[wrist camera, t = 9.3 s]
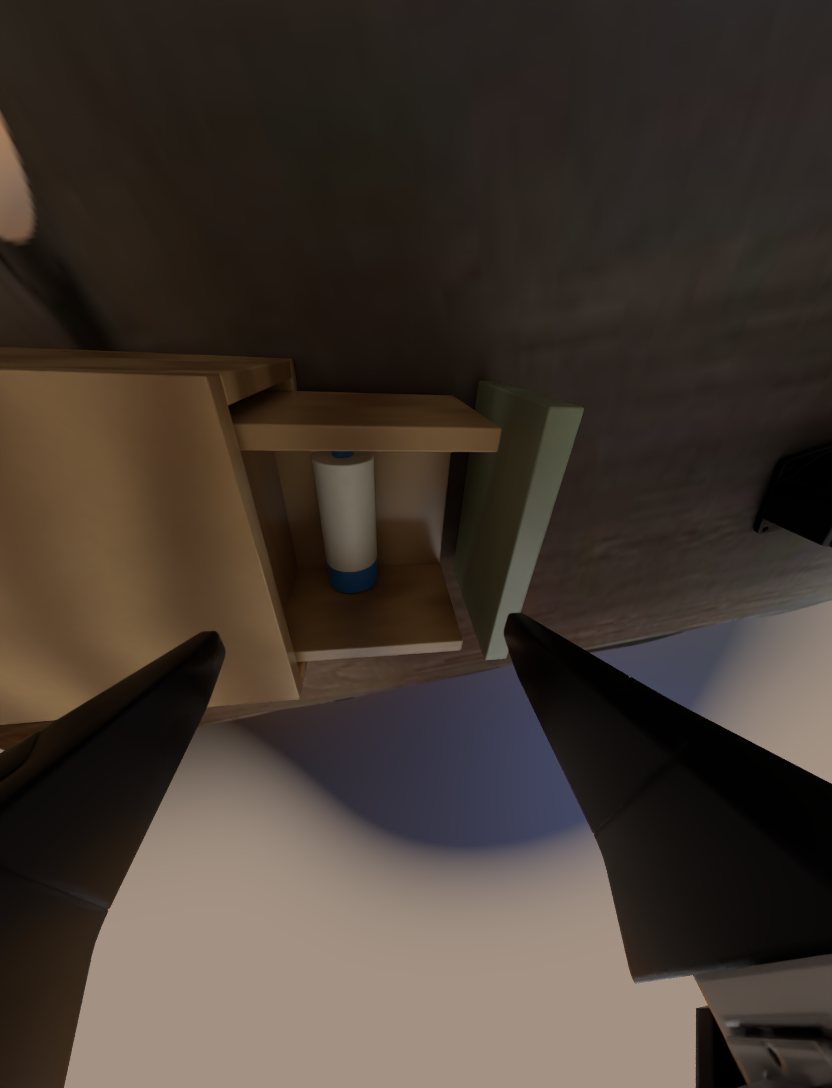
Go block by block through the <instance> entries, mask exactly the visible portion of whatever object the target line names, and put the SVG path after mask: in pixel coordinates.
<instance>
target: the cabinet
mask: <svg viewBox="0 0 832 1088" xmlns="http://www.w3.org/2000/svg"><path fill="white" fill-rule="evenodd" d="M262 390H279V391H298V389H297V382H296V375H295V369H294V362H293V359H291V358H268V357H244V356H219V355H195V354H171V353H146V352H122V351H98V350H74V349H49V348H25V347H1V346H0V725H2V724H14V723H25V722H37V721H49V720H57V719H59V718H60V717H62V716H64V715H65V714H67V713H69V712H70V711H72V710H74V709H75V708H77V707H78V706H80V705H82V704H83V703H85V702H87V701H88V700H90V699H92V698H93V697H95V696H96V695H98V694H100V693H101V692H103V691H105V690H106V689H108V688H110V687H111V686H113V685H115V684H116V683H118V682H119V681H121V680H123V679H124V678H126V677H128V676H129V675H131V674H133V673H134V672H136V671H137V670H139V669H141V668H142V667H144V666H146V665H147V664H149V663H151V662H152V661H154V660H156V659H157V658H159V657H160V656H162V655H164V654H165V653H167V652H169V651H170V650H172V649H174V648H175V647H177V646H178V645H180V644H182V643H183V642H185V641H187V640H188V639H190V638H192V637H193V636H195V635H197V634H198V633H200V632H202V631H217V632H218V633H219V635H220V637H221V640H222V642H223V644H224V646H225V649H226V656H225V659H224V662H223V665H222V668H221V671H220V674H219V676H218V679H217V682H216V685H215V688H214V691H213V693H212V696H211V699H210V701H209V704H208V706H207V707H213V706H225V705H237V704H248V703H260V702H272V701H284V700H295V699H300V695H301V690H302V686H303V684H302V683H303V679H304V675H305V670H306V665H307V661H304V662H297V661H296V657H295V654H294V650H293V646H292V643H291V639H290V635H289V631H288V628H287V624H286V620H285V616H284V613H283V609H282V605H281V602H280V598H279V594H278V590H277V587H276V583H275V579H274V575H273V572H272V568H271V564H270V561H269V557H268V553H267V549H266V546H265V542H264V538H263V534H262V531H261V527H260V523H259V519H258V516H257V512H256V508H255V505H254V501H253V497H252V493H251V490H250V486H249V482H248V478H247V475H246V471H245V467H244V464H243V460H242V456H241V452H240V449H239V445H238V441H237V437H236V434H235V430H234V426H233V423H232V419H231V415H230V411H229V408H228V405H230V404H233V403H235V402H237V401H239V400H242V399H244V398H246V397H249V396H251V395H253V394H255V393H258V392H260V391H262Z"/></svg>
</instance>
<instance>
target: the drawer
mask: <svg viewBox="0 0 832 1088" xmlns="http://www.w3.org/2000/svg"><path fill="white" fill-rule="evenodd" d="M228 408H229V411H230V415H231V419H232V423H233V426H234V430H235V434H236V437H237V441H238V445H239V449H240V452H241V456H242V460H243V464H244V467H245V471H246V475H247V478H248V482H249V486H250V490H251V493H252V497H253V501H254V505H255V508H256V512H257V516H258V519H259V523H260V527H261V531H262V534H263V538H264V542H265V546H266V549H267V553H268V557H269V561H270V564H271V568H272V572H273V575H274V579H275V583H276V587H277V590H278V594H279V598H280V602H281V605H282V609H283V613H284V616H285V620H286V624H287V628H288V631H289V635H290V639H291V643H292V646H293V650H294V654H295V657H296V661H297V662H304V661H318V660H332V659H346V658H360V657H374V656H388V655H402V654H416V653H430V652H444V651H458V650H461V647H462V642H463V640H462V636H461V633H460V630H459V626H458V623H457V620H456V616H455V613H454V610H453V606H452V603H451V600H450V596H449V593H448V590H447V586H446V583H445V580H444V576H443V573H442V570H441V566H440V555H441V545H442V536H443V526H444V516H445V506H446V497H447V487H448V477H449V467H450V458H451V452H469V457H468V465H467V472H466V479H465V487H464V494H463V502H462V509H461V517H460V524H459V531H458V539H457V546H456V554H455V561H454V569H453V570H454V573H455V576H456V579H457V582H458V585H459V587H460V590H461V593H462V596H463V599H464V602H465V604H466V607H467V610H468V613H469V616H470V619H471V621H472V624H473V627H474V630H475V633H476V636H477V639H478V641H479V644H480V647H481V650H482V653H483V656H484V658H485V660H495V659H506V657H507V654H508V651H509V650H508V647H507V644H506V642H505V639H504V627H505V624H506V620H507V617H508V614H510V613H519V612H520V613H521V609H522V606H523V603H524V600H525V597H526V593H527V590H528V587H529V584H530V581H531V577H532V574H533V571H534V568H535V565H536V561H537V558H538V555H539V552H540V549H541V545H542V542H543V539H544V536H545V533H546V529H547V526H548V523H549V520H550V517H551V514H552V510H553V507H554V504H555V501H556V498H557V494H558V491H559V488H560V485H561V482H562V478H563V475H564V472H565V469H566V466H567V462H568V459H569V456H570V453H571V450H572V446H573V443H574V440H575V437H576V434H577V430H578V427H579V424H580V421H581V418H582V414H583V411H584V408H583V407H580V406H577V405H574V404H571V403H568V402H564V401H561V400H558V399H555V398H552V397H548V396H545V395H542V394H539V393H535V392H532V391H529V390H526V389H523V388H519V387H516V386H513V385H510V384H507V383H503V382H500V381H479V383H478V390H477V398H476V405H475V410H473V409H472V408H470V407H469V406H467V405H466V404H464V403H463V402H462V401H460V400H459V399H457V398H455V397H454V396H450V395H416V394H381V393H347V392H313V391H279V390H262V391H260V392H258V393H255V394H253V395H251V396H249V397H246V398H244V399H242V400H239V401H237V402H235V403H233V404H230V405H228ZM317 451H370V452H371V453H372V454H373V456H374V482H375V511H376V540H377V569H378V578H377V581H376V582H375V584H374V585H373V586H372V587H370V588H369V589H367V590H364V591H362V592H357V593H344V592H340V591H338V590H336V589H334V588H333V587H332V586H331V584H330V582H329V575H328V568H327V561H326V555H325V548H324V541H323V534H322V527H321V520H320V513H319V506H318V499H317V492H316V485H315V478H314V472H313V465H312V455H313V454H314V453H315V452H317Z"/></svg>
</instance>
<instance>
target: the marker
mask: <svg viewBox="0 0 832 1088" xmlns="http://www.w3.org/2000/svg"><path fill="white" fill-rule="evenodd" d="M312 465H313V472H314V478H315V485H316V492H317V499H318V506H319V513H320V520H321V527H322V534H323V541H324V548H325V555H326V561H327V568H328V575H329V582H330V584H331V586H332V587H333V588H334V589H336V590H338V591H340V592H344V593H357V592H362V591H364V590H367V589H369V588H370V587H372V586H373V585H374V584H375V582H376V581H377V578H378V569H377V540H376V511H375V482H374V456H373V454H372V453H371V452H370V451H317V452H315V453H314V454H313V455H312Z"/></svg>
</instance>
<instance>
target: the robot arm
mask: <svg viewBox="0 0 832 1088" xmlns="http://www.w3.org/2000/svg"><path fill="white" fill-rule="evenodd" d="M781 528H784V529H786V530H789V531H791V532H793V533H795V534H797V535H800V536H802V537H804V538H806V539H808V540H811V541H813V542H815V543H817V544H819V545H822V546H830V547H832V442H831V443H828V444H825V445H822V446H819V447H816V448H812V449H809V450H806V451H803V452H800V453H797V454H794V455H791V456H788V457H785V458H784V459H782V460H781V461H780V462H779V463H778V465H777V468H776V470H775V473H774V476H773V478H772V481H771V484H770V486H769V489H768V492H767V494H766V497H765V500H764V502H763V505H762V508H761V510H760V513H759V516H758V518H757V521H756V524H755V526H754V531H755V532H757V533H759V534H764V533H768V532H771V531H774V530H777V529H781ZM504 639H505V642H506V644H507V647H508V650H509V653H510V656H511V659H512V662H513V665H514V667H515V670H516V673H517V676H518V678H519V680H520V682H521V685H522V686H523V689H524V691H525V693H526V695H527V697H528V699H529V701H530V703H531V705H532V707H533V709H534V712H535V713H536V716H537V718H538V720H539V722H540V724H541V726H542V728H543V730H544V732H545V734H546V736H547V739H548V741H549V743H550V745H551V747H552V749H553V751H554V753H555V755H556V757H557V759H558V762H559V764H560V766H561V767H562V770H563V771H564V774H565V776H566V778H567V780H568V782H569V784H570V786H571V789H572V790H573V793H574V795H575V797H576V799H577V801H578V803H579V805H580V807H581V809H582V811H583V814H584V815H585V818H586V820H587V822H588V824H589V826H590V828H591V830H592V832H593V833H594V836H595V839H596V841H597V843H598V845H599V848H600V850H601V853H602V856H603V859H604V862H605V866H606V870H607V874H608V878H609V882H610V886H611V891H612V896H613V900H614V904H615V909H616V913H617V918H618V922H619V926H620V931H621V935H622V939H623V944H624V948H625V953H626V957H627V961H628V966H629V969H630V973H631V976H632V978H633V980H634V983H635V984H637V983H643V982H651V981H657V980H663V979H670V978H677V977H683V976H690V975H693V976H694V978H695V980H696V982H697V984H698V986H699V988H700V990H701V992H702V994H703V996H704V997H705V1000H706V1001H707V1003H708V1006H705V1007H700V1008H696V1088H832V784H831V783H829V782H827V781H825V780H823V779H821V778H819V777H817V776H815V775H813V774H812V773H810V772H808V771H806V770H804V769H802V768H800V767H798V766H796V765H794V764H793V763H791V762H789V761H787V760H785V759H783V758H781V757H779V756H777V755H775V754H773V753H771V752H769V751H768V750H766V749H764V748H762V747H760V746H758V745H756V744H754V743H752V742H750V741H748V740H746V739H745V738H743V737H741V736H739V735H737V734H735V733H733V732H731V731H729V730H727V729H725V728H723V727H721V726H720V725H718V724H716V723H714V722H712V721H710V720H708V719H706V718H704V717H702V716H700V715H698V714H697V713H695V712H693V711H691V710H689V709H687V708H685V707H683V706H681V705H680V704H678V703H676V702H674V701H672V700H670V699H668V698H667V697H665V696H663V695H661V694H660V693H658V692H656V691H654V690H653V689H651V688H649V687H647V686H646V685H644V684H642V683H640V682H639V681H637V680H635V679H634V678H632V677H630V678H629V676H628V675H626V674H624V673H623V672H621V671H619V670H617V669H616V668H614V667H613V666H611V665H609V664H607V663H606V662H604V661H602V660H601V659H599V658H597V657H596V656H594V655H592V654H591V653H589V652H587V651H585V650H584V649H582V648H580V647H579V646H577V645H575V644H574V643H572V642H570V641H568V640H567V639H565V638H563V637H562V636H560V635H558V634H557V633H555V632H553V631H552V630H550V629H548V628H546V627H545V626H543V625H541V624H540V623H538V622H536V621H535V620H533V619H531V618H529V617H528V616H526V615H524V614H523V613H520V612H519V613H510V614H508V617H507V620H506V624H505V627H504ZM225 656H226V649H225V646H224V644H223V642H222V640H221V637H220V635H219V633H218V632H217V631H202V632H200V633H198V634H197V635H195V636H193V637H192V638H190V639H188V640H187V641H185V642H183V643H182V644H180V645H178V646H177V647H175V648H174V649H172V650H170V651H169V652H167V653H165V654H164V655H162V656H160V657H159V658H157V659H156V660H154V661H152V662H151V663H149V664H147V665H146V666H144V667H142V668H141V669H139V670H137V671H136V672H134V673H133V674H131V675H129V676H128V677H126V678H124V679H123V680H121V681H119V682H118V683H116V684H115V685H113V686H111V687H110V688H108V689H106V690H105V691H103V692H101V693H100V694H98V695H96V696H95V697H93V698H92V699H90V700H88V701H87V702H85V703H83V704H82V705H80V706H78V707H77V708H75V709H74V710H72V711H70V712H69V713H67V714H65V715H64V716H62V717H60V718H59V719H57V720H55V721H54V722H52V723H51V724H49V725H47V726H46V727H44V728H43V729H42V730H41V731H37V732H35V733H33V734H32V735H30V736H28V737H27V738H25V739H23V740H22V741H20V742H18V743H17V744H15V745H14V746H12V747H10V748H8V749H7V750H5V751H3V752H2V753H0V1088H64V1085H65V1080H66V1075H67V1070H68V1066H69V1061H70V1056H71V1051H72V1046H73V1042H74V1037H75V1032H76V1028H77V1023H78V1018H79V1013H80V1009H81V1004H82V999H83V995H84V990H85V985H86V980H87V976H88V971H89V966H90V962H91V956H92V953H93V949H94V945H95V942H96V940H97V937H98V934H99V931H100V929H101V926H102V924H103V922H104V919H105V917H106V915H107V912H108V910H107V909H109V908H110V907H111V905H112V903H113V900H114V898H115V896H116V894H117V892H118V890H119V888H120V886H121V884H122V882H123V880H124V878H125V876H126V874H127V872H128V869H129V867H130V865H131V863H132V861H133V859H134V857H135V855H136V853H137V851H138V849H139V847H140V845H141V843H142V841H143V839H144V836H145V834H146V832H147V830H148V828H149V826H150V824H151V822H152V820H153V818H154V816H155V814H156V811H157V810H158V807H159V805H160V803H161V801H162V799H163V797H164V795H165V793H166V791H167V789H168V787H169V785H170V783H171V780H172V778H173V776H174V774H175V772H176V770H177V768H178V766H179V764H180V762H181V760H182V758H183V756H184V753H185V752H186V750H187V748H188V745H189V743H190V741H191V739H192V737H193V735H194V733H195V730H196V729H197V727H198V725H199V723H200V721H201V719H202V717H203V715H204V712H205V710H206V708H207V706H208V704H209V701H210V699H211V696H212V693H213V691H214V688H215V685H216V682H217V679H218V676H219V674H220V671H221V668H222V665H223V662H224V659H225Z"/></svg>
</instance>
